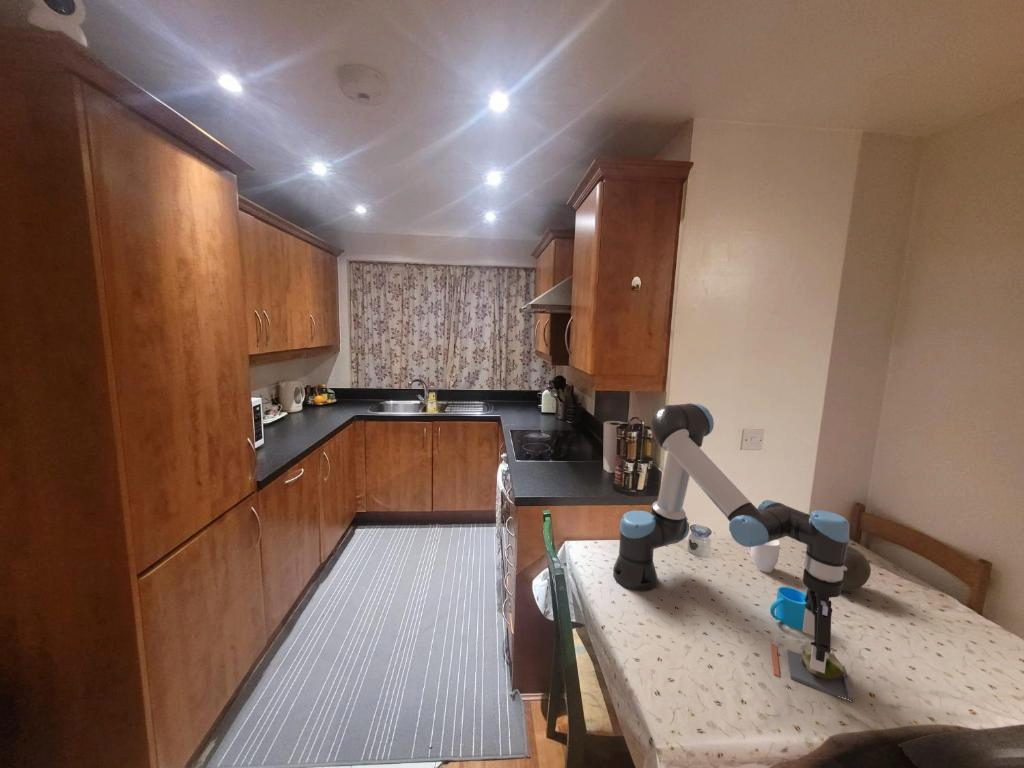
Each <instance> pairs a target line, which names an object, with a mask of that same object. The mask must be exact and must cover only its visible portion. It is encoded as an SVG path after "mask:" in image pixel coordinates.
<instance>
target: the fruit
mask: <svg viewBox="0 0 1024 768" xmlns="http://www.w3.org/2000/svg"><path fill="white" fill-rule="evenodd" d="M811 642H812V641H805V643H804V644H801V649H802V655H803V656H802V658H801V659H800V661H801V663H802V664H803V665H804V666H805V667H806V668H807V670H808V671H809V672H810V673H811V674H813V675H815V676H817V677H820V678H823V679H834V678H837V677H840V676H842V677H848V678H849V675H848V673H847V674H845V673H844V672H843V670H844V667H843V665H844V664H842V662H841V661H839V659H838V658H837V656H836V655H835V652H834V651H832V650H831V652H830V653H827V659H826V666H825V673H822V672H819V671H816V670H814V669H811V668H810V661H811V653H812V646H813V645H811Z"/></svg>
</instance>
